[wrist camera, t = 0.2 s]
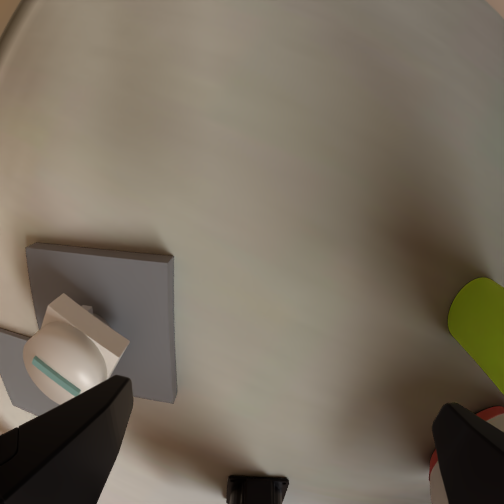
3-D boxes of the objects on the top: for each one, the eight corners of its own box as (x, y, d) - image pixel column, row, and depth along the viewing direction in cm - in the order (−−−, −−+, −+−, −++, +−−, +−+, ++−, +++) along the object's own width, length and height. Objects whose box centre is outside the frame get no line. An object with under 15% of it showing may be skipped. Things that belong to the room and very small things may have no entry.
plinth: (177, 392, 25) (161, 438, 20) (58, 365, 25) (29, 400, 20) (173, 256, 22) (147, 286, 16) (36, 242, 22) (-8, 263, 16)
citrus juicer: (433, 492, 31) (468, 595, 11) (396, 451, 27) (445, 603, 8) (521, 430, 28) (578, 520, 8) (513, 366, 24) (610, 486, 5)
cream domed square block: (130, 341, 20) (104, 379, 16) (103, 387, 21) (81, 424, 17) (63, 292, 19) (27, 321, 15) (45, 345, 20) (16, 375, 16)
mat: (89, 429, 27) (86, 433, 27) (15, 402, 28) (12, 405, 27) (65, 347, 24) (62, 350, 24) (-13, 323, 24) (-16, 326, 24)
